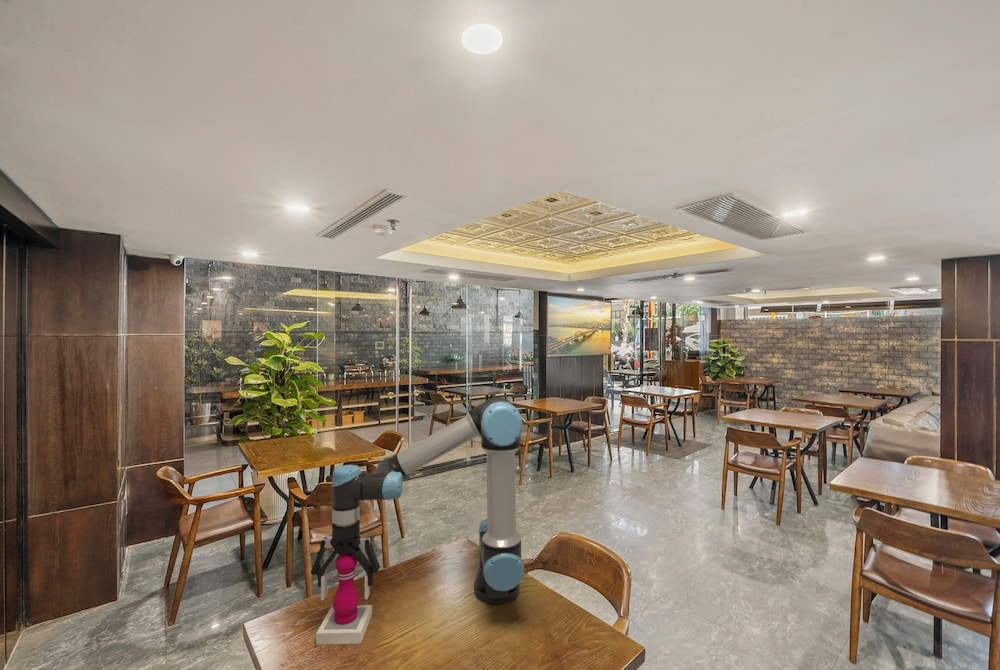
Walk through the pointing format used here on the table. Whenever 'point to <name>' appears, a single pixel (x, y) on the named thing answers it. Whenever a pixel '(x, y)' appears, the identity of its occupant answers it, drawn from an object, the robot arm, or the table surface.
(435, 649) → the table surface
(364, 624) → the base
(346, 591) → the pepper mill
